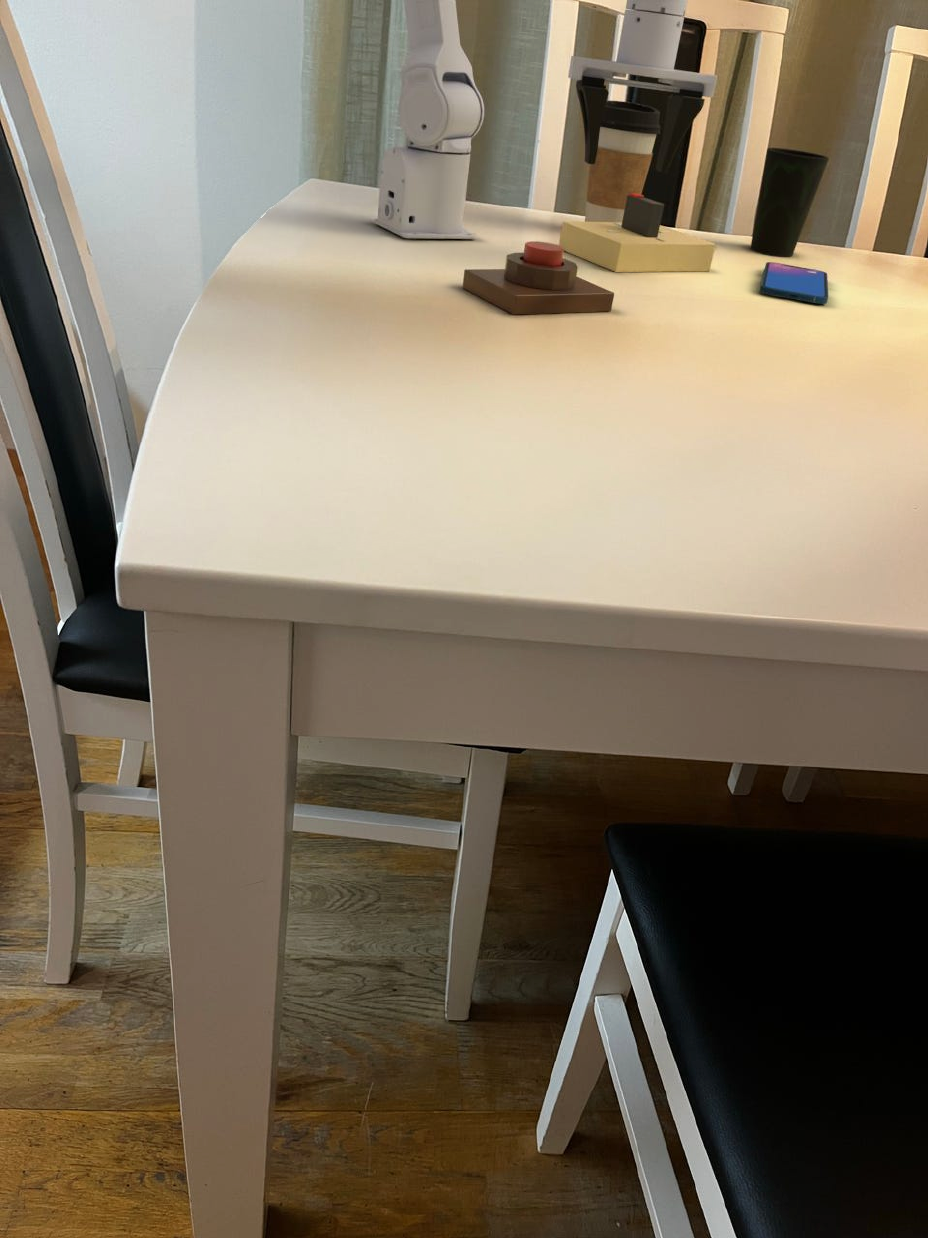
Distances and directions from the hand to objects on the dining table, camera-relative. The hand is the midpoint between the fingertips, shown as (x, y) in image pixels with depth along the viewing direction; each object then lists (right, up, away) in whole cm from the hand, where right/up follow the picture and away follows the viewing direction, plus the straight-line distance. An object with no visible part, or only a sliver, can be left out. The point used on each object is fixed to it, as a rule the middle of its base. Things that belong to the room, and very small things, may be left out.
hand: (625, 167), depth 100 cm
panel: (+3, -5, +13) cm, 14 cm away
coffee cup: (+2, +3, +25) cm, 25 cm away
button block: (-10, -17, -9) cm, 22 cm away
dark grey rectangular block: (+3, -2, +11) cm, 12 cm away
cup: (+24, +2, +29) cm, 38 cm away
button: (-10, -14, -11) cm, 20 cm away
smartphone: (+21, -9, +10) cm, 25 cm away
